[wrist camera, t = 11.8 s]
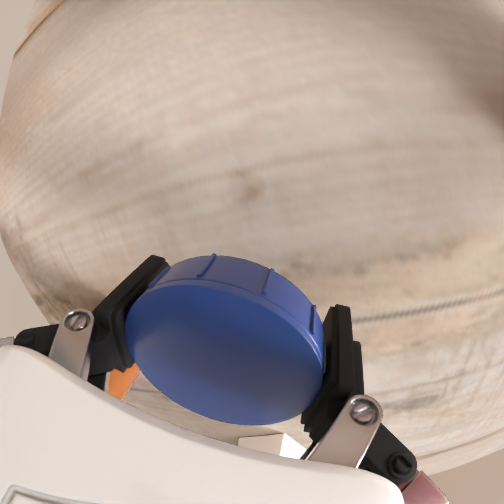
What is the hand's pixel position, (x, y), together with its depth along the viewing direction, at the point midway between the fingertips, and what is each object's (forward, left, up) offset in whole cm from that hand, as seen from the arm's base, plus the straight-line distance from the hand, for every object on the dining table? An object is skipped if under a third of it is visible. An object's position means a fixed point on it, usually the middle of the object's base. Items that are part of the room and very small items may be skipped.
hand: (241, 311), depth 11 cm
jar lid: (0, 0, +3) cm, 3 cm away
